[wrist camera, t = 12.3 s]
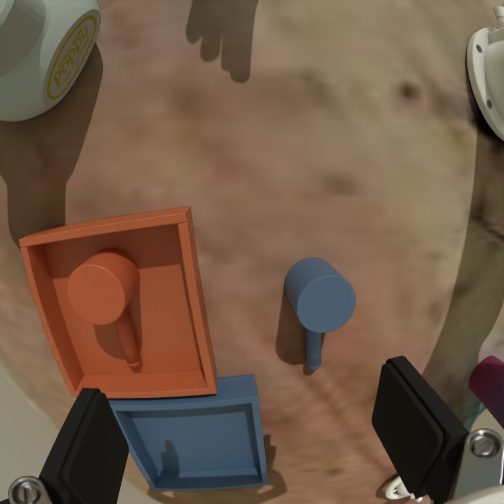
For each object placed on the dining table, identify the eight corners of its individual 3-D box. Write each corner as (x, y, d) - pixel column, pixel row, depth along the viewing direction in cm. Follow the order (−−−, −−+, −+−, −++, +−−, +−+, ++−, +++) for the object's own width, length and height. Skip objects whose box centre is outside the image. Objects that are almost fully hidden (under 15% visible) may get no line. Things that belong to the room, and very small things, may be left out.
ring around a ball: (416, 483, 35) (438, 452, 33) (429, 507, 29) (454, 477, 27) (373, 493, 34) (394, 463, 32) (384, 521, 28) (409, 493, 27)
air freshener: (48, -5, 15) (-10, -57, 5) (124, 7, 17) (79, -66, 7) (-11, 110, 17) (-94, 100, 7) (57, 137, 19) (-32, 127, 9)
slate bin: (114, 383, 24) (106, 405, 21) (254, 373, 25) (258, 396, 22) (155, 470, 28) (152, 491, 25) (265, 464, 29) (269, 484, 26)
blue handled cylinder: (282, 261, 23) (295, 280, 19) (335, 254, 23) (356, 271, 19) (288, 368, 25) (299, 398, 21) (334, 360, 26) (350, 387, 22)
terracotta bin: (38, 230, 20) (18, 239, 17) (190, 206, 21) (185, 212, 18) (82, 376, 24) (71, 397, 21) (216, 370, 25) (216, 393, 22)
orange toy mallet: (83, 251, 21) (59, 268, 17) (134, 244, 21) (116, 260, 17) (114, 362, 23) (101, 392, 19) (160, 360, 23) (152, 391, 20)
